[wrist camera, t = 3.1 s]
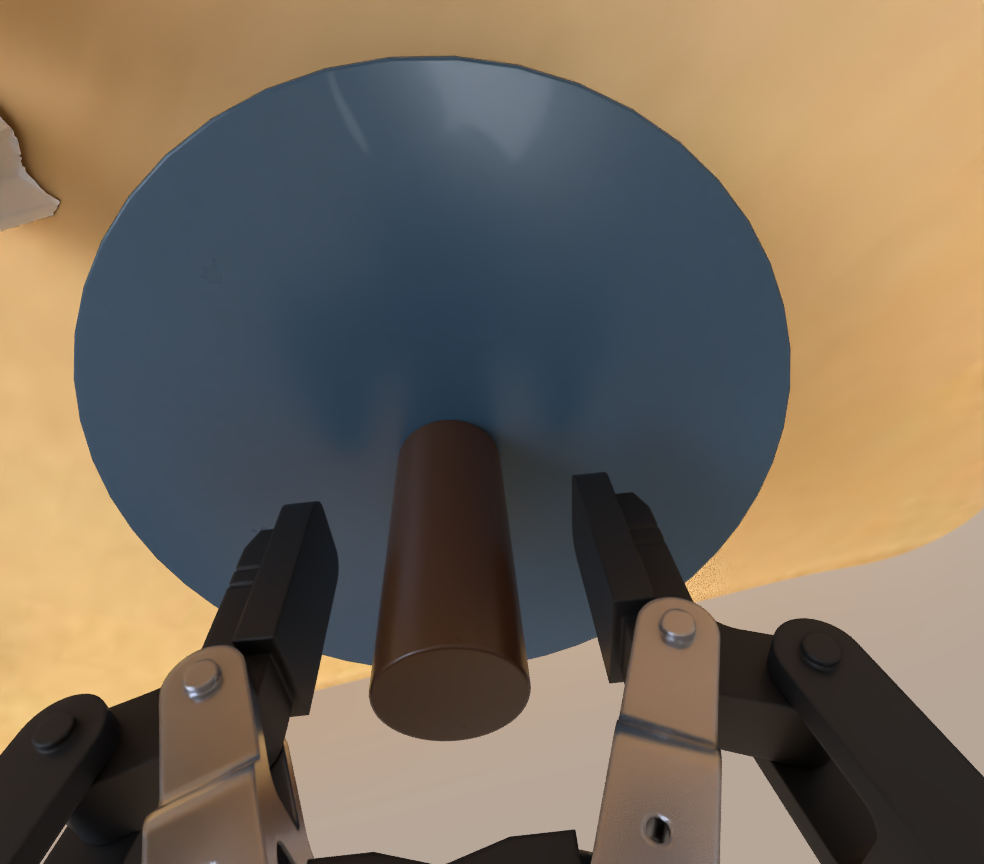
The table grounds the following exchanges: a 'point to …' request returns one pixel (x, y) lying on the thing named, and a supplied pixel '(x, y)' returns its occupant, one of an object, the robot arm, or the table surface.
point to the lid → (431, 358)
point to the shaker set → (19, 187)
